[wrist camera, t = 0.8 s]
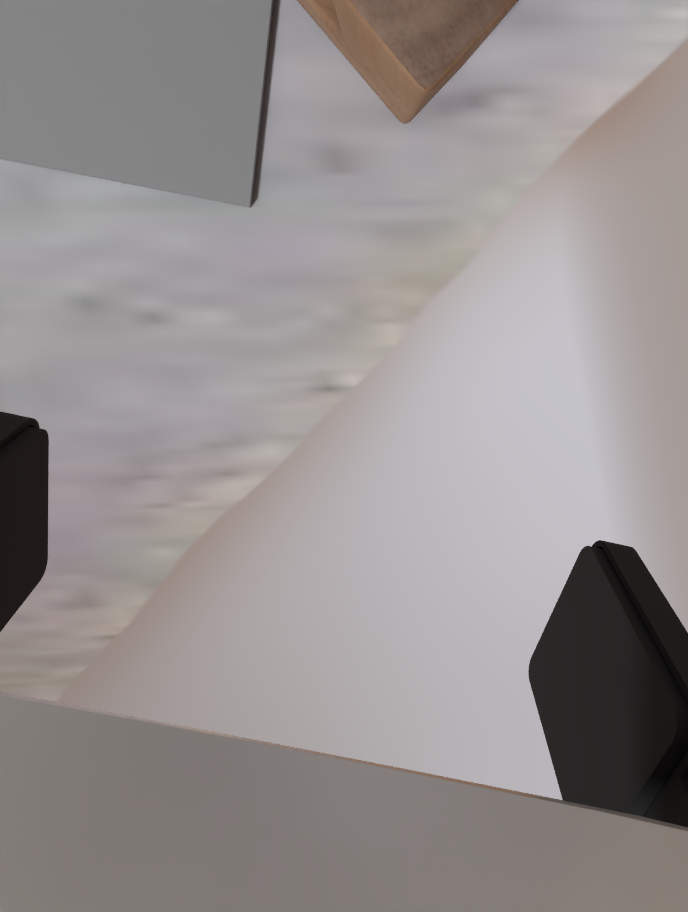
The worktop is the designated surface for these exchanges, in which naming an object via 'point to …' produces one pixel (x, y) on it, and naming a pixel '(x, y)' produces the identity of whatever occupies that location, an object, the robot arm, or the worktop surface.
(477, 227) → the worktop surface
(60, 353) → the worktop surface
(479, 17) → the wooden block
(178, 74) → the mat
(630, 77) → the worktop surface
